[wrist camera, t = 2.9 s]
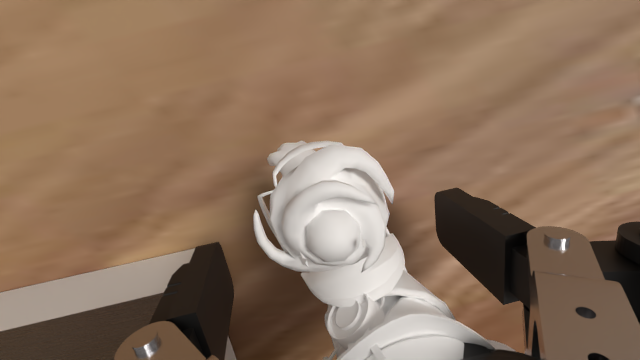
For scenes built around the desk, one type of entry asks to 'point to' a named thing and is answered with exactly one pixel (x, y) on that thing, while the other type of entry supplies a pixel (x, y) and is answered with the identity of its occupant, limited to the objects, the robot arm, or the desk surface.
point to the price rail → (79, 333)
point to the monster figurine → (500, 345)
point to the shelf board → (92, 292)
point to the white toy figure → (354, 256)
